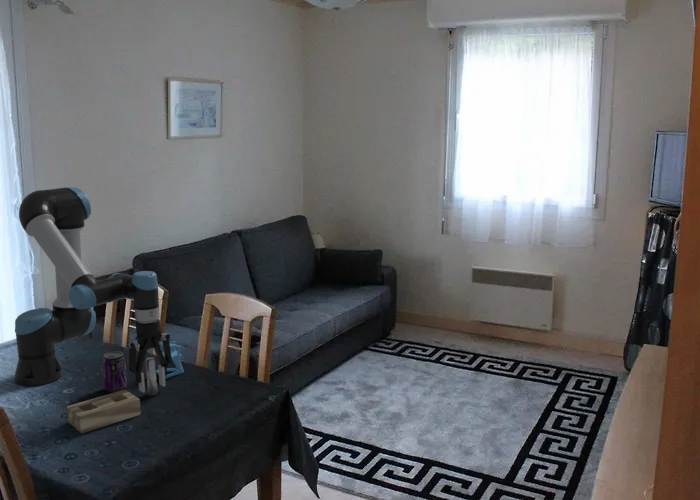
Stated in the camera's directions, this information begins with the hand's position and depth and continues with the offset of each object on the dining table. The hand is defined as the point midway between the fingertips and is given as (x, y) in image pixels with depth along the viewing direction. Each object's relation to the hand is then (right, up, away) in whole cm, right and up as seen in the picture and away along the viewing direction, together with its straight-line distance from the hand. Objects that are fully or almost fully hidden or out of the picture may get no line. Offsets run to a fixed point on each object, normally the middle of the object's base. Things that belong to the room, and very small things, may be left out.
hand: (152, 388), depth 221 cm
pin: (0, -2, 0) cm, 2 cm away
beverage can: (-13, -1, +4) cm, 14 cm away
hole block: (-9, -6, -17) cm, 20 cm away
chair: (+1, +1, +18) cm, 18 cm away
